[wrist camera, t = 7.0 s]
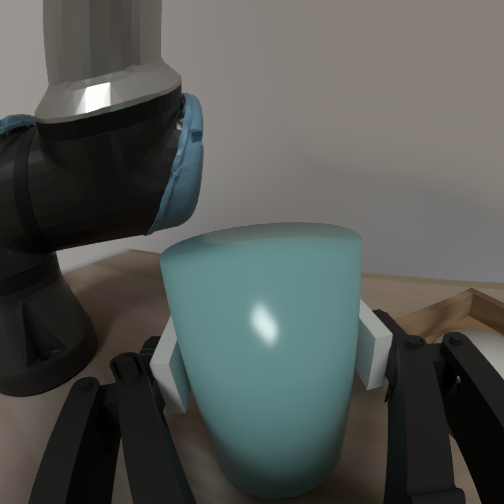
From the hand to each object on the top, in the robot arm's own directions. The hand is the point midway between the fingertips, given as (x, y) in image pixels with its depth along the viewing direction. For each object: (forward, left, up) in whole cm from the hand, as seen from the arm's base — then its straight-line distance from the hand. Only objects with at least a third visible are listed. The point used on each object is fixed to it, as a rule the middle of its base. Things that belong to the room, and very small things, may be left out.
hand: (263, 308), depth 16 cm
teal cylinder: (-1, -5, -7) cm, 9 cm away
